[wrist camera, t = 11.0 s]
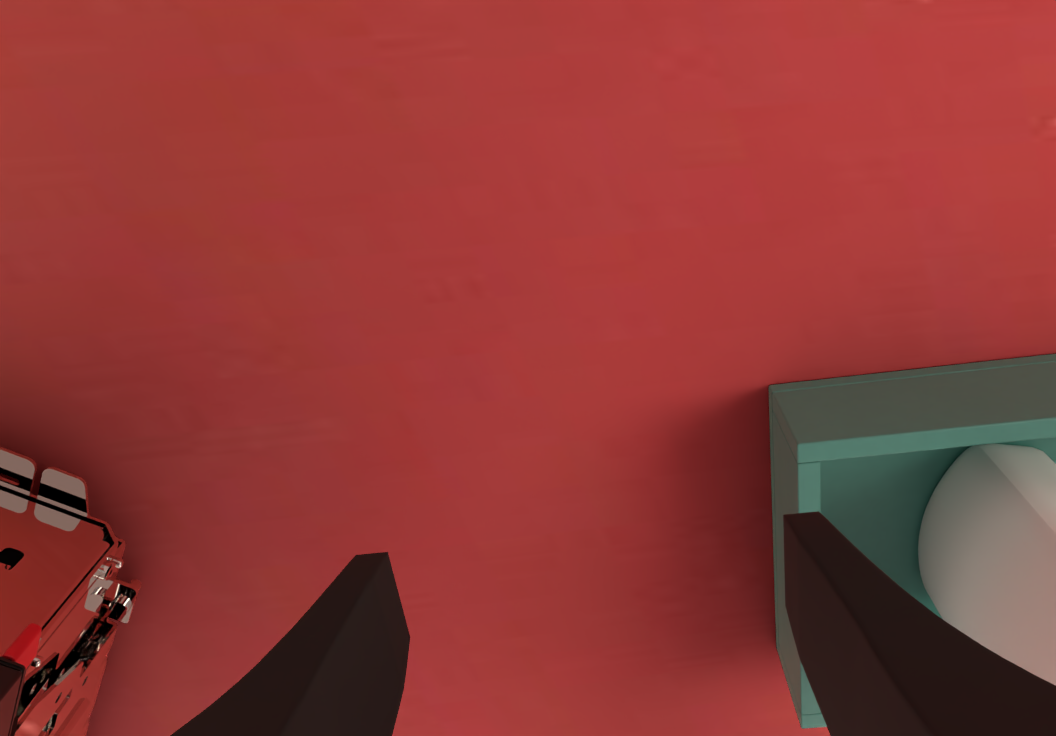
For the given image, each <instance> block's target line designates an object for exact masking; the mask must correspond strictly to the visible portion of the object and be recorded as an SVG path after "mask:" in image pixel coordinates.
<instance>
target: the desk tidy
mask: <svg viewBox="0 0 1056 736" xmlns="http://www.w3.org/2000/svg"><path fill="white" fill-rule="evenodd" d="M768 389H769V423H770V457H771V490H772V524H773V558H774V591H775V625H776V648H777V651H778V655H779V658H780V661H781V665H782V668H783V671H784V674H785V677H786V681H787V684H788V687H789V690H790V694H791V697H792V700H793V703H794V706H795V710H796V713H797V716H798V719H799V723H800V726H801V728H817V727H827V725H826V723H825V720H824V718H823V715H822V713H821V711H820V708H819V706H818V703H817V701H816V698H815V696H814V693H813V691H812V688H811V686H810V683H809V681H808V678H807V676H806V673H805V671H804V668H803V666H802V663H801V661H800V658H799V655H798V651H797V648H796V644H795V641H794V637H793V633H792V630H791V626H790V622H789V618H788V614H787V610H786V607H785V572H784V527H783V515H785V514H796V513H807V512H817V511H819V512H820V513H821V514H822V515H824V516H825V517H826V518H827V519H828V520H829V521H830V522H831V523H832V524H833V525H834V526H835V527H836V528H837V529H838V530H839V531H840V532H841V533H842V534H843V535H844V536H845V537H846V538H847V539H848V540H849V541H850V542H851V543H852V544H853V545H854V546H856V547H857V548H858V549H859V550H860V551H861V552H862V553H863V554H864V555H865V556H866V557H867V558H868V559H869V560H871V561H872V562H873V563H874V564H875V565H876V566H877V567H878V568H880V569H881V570H882V571H883V572H884V573H885V574H887V575H888V576H889V577H890V578H891V579H892V580H893V581H895V582H896V583H897V584H898V585H899V586H900V587H902V588H903V589H904V590H905V591H907V592H908V593H909V594H910V595H911V596H913V597H914V598H915V599H916V600H918V601H919V602H920V603H922V604H923V605H924V606H926V607H927V608H928V609H929V610H931V611H932V612H933V613H935V614H936V615H937V616H939V617H940V618H942V617H941V615H940V614H939V612H938V610H937V608H936V607H935V605H934V603H933V602H932V600H931V598H930V596H929V595H928V593H927V591H926V589H925V587H924V585H923V581H922V578H921V574H920V568H919V559H918V542H919V533H920V527H921V523H922V519H923V515H924V512H925V509H926V507H927V504H928V502H929V500H930V498H931V496H932V494H933V492H934V490H935V488H936V486H937V485H938V483H939V481H940V480H941V478H942V477H943V475H944V474H945V473H946V471H947V470H948V469H949V467H950V466H951V465H952V464H953V462H954V461H955V460H956V459H957V458H958V457H959V456H960V455H961V454H962V453H963V452H964V451H965V450H966V449H968V448H970V447H971V446H974V445H984V444H1006V445H1018V446H1027V447H1033V448H1036V449H1038V450H1041V451H1043V452H1044V453H1045V454H1046V455H1047V456H1048V457H1049V458H1050V459H1051V460H1052V461H1053V462H1054V463H1055V464H1056V354H1048V355H1039V356H1030V357H1020V358H1011V359H1002V360H993V361H984V362H975V363H966V364H957V365H948V366H939V367H930V368H920V369H911V370H902V371H893V372H884V373H875V374H866V375H857V376H848V377H839V378H829V379H820V380H811V381H802V382H793V383H784V384H775V385H769V387H768Z"/></svg>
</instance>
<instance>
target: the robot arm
mask: <svg viewBox="0 0 1056 736" xmlns="http://www.w3.org/2000/svg"><path fill="white" fill-rule="evenodd" d="M783 527H784V572H785V607H786V610H787V614H788V618H789V622H790V626H791V630H792V633H793V637H794V641H795V644H796V648H797V651H798V655H799V658H800V661H801V663H802V666H803V668H804V671H805V673H806V676H807V678H808V681H809V683H810V686H811V688H812V691H813V693H814V696H815V698H816V701H817V703H818V706H819V708H820V711H821V713H822V715H823V718H824V720H825V723H826V725H827V728H828V730H829V733H830V735H831V736H1056V685H1054V684H1052V683H1050V682H1048V681H1046V680H1044V679H1042V678H1040V677H1038V676H1036V675H1034V674H1032V673H1030V672H1028V671H1027V670H1025V669H1023V668H1021V667H1019V666H1017V665H1016V664H1014V663H1012V662H1010V661H1008V660H1006V659H1005V658H1003V657H1001V656H999V655H998V654H996V653H994V652H993V651H991V650H989V649H988V648H986V647H984V646H983V645H981V644H979V643H978V642H976V641H975V640H973V639H972V638H970V637H969V636H967V635H966V634H964V633H962V632H961V631H959V630H958V629H956V628H955V627H953V626H952V625H950V624H949V623H947V622H946V621H944V620H943V619H942V618H940V617H939V616H937V615H936V614H935V613H933V612H932V611H931V610H929V609H928V608H927V607H926V606H924V605H923V604H922V603H920V602H919V601H918V600H916V599H915V598H914V597H913V596H911V595H910V594H909V593H908V592H907V591H905V590H904V589H903V588H902V587H900V586H899V585H898V584H897V583H896V582H895V581H893V580H892V579H891V578H890V577H889V576H888V575H887V574H885V573H884V572H883V571H882V570H881V569H880V568H878V567H877V566H876V565H875V564H874V563H873V562H872V561H871V560H869V559H868V558H867V557H866V556H865V555H864V554H863V553H862V552H861V551H860V550H859V549H858V548H857V547H856V546H854V545H853V544H852V543H851V542H850V541H849V540H848V539H847V538H846V537H845V536H844V535H843V534H842V533H841V532H840V531H839V530H838V529H837V528H836V527H835V526H834V525H833V524H832V523H831V522H830V521H829V520H828V519H827V518H826V517H825V516H824V515H822V514H821V513H820V512H819V511H817V512H807V513H796V514H785V515H783ZM409 642H410V635H409V631H408V628H407V624H406V620H405V616H404V612H403V609H402V605H401V601H400V597H399V593H398V590H397V586H396V582H395V578H394V574H393V571H392V567H391V563H390V559H389V555H388V552H383V553H373V554H362V555H356V556H355V557H354V558H353V559H352V560H351V561H350V562H349V563H348V565H347V566H346V567H345V568H344V569H343V570H342V572H341V573H340V574H339V575H338V576H337V577H336V579H335V580H334V581H333V582H332V583H331V584H330V586H329V587H328V588H327V589H326V590H325V591H324V593H323V594H322V595H321V596H320V597H319V598H318V600H317V601H316V602H315V603H314V604H313V605H312V607H311V608H310V609H309V610H308V611H307V612H306V613H305V614H304V616H303V617H302V618H301V619H300V620H299V621H298V622H297V623H296V625H295V626H294V627H293V628H292V629H291V630H290V631H289V632H288V633H287V634H286V635H285V636H284V637H283V638H282V639H281V640H280V641H279V642H278V643H277V644H276V645H275V646H274V647H273V649H272V650H271V651H270V652H269V653H268V654H267V655H266V656H265V657H264V658H263V659H262V660H261V661H260V662H259V663H258V664H257V665H256V666H255V667H254V668H253V669H252V670H251V671H249V672H248V673H247V674H246V675H245V676H244V677H243V678H242V679H241V680H240V681H239V682H237V683H236V684H235V685H234V686H233V687H232V688H230V689H229V690H228V691H227V692H226V693H225V694H223V695H222V696H221V697H220V698H219V699H218V700H216V701H215V702H214V703H213V704H212V705H210V706H209V707H208V708H207V709H205V710H204V711H203V712H201V713H200V714H199V715H197V716H196V717H195V718H193V719H192V720H191V721H189V722H188V723H187V724H185V725H184V726H183V727H181V728H180V729H179V730H177V731H176V732H175V733H173V734H172V735H171V736H392V733H393V729H394V726H395V722H396V718H397V714H398V710H399V706H400V702H401V698H402V694H403V689H404V683H405V676H406V668H407V660H408V651H409Z"/></svg>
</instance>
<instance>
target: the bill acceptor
mask: <svg viewBox="0 0 1056 736" xmlns="http://www.w3.org/2000/svg"><path fill="white" fill-rule="evenodd" d="M36 470H37V465H36V463H35V461H34V460H33V459H31V458H29V457H26V456H24V455H21V454H19V453H16V452H13V451H11V450H8V449H5V448H3V447H0V473H2V474H5V475H7V476H10V477H13V478H15V479H18V480H19V482H20V483H16V482H14V481H11V480H8V479H6V478H3V477H0V736H86V733H87V729H88V726H89V722H90V717H89V715H90V714H91V712H92V710H93V708H94V705H95V701H96V698H97V695H98V691H99V688H100V684H101V681H102V677H103V674H104V670H105V667H106V663H107V660H108V658H107V656H106V655H107V653H108V652H109V650H110V648H111V646H112V643H113V639H114V636H115V632H116V629H117V623H116V622H113V621H110V620H109V619H108V617H109V618H112V619H115V620H118V621H120V622H123V623H128V622H129V620H130V619H131V615H132V611H133V607H134V604H135V600H136V598H137V595H138V592H139V589H140V587H141V586H142V584H141V582H140V581H139V580H136V579H133V580H132V581H131V582H130V583H127V582H124V581H121V580H119V579H116V577H117V573H118V570H119V568H121V567H122V566H123V564H124V560H123V559H122V555H123V552H124V548H125V545H126V542H125V541H124V540H122V539H120V538H117V537H115V534H114V532H113V530H112V528H111V526H110V524H109V523H108V522H106V521H103V520H100V519H98V518H95V517H92V516H90V515H89V504H88V492H87V483H86V481H85V480H84V479H83V478H81V477H79V476H77V475H74V474H71V473H69V472H66V471H63V470H61V469H58V468H56V467H48V468H46V469H45V470H44V471H43V473H42V478H41V482H40V487H39V492H38V496H36V495H33V494H32V489H33V484H34V479H35V474H36Z"/></svg>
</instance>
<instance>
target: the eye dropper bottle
mask: <svg viewBox="0 0 1056 736" xmlns="http://www.w3.org/2000/svg"><path fill="white" fill-rule="evenodd" d="M918 559H919V568H920V574H921V578H922V581H923V585H924V587H925V589H926V591H927V593H928V595H929V596H930V598H931V600H932V602H933V603H934V605H935V607H936V608H937V610H938V612H939V614H940V615H941V617H942V619H943V620H944V621H946V622H947V623H949V624H950V625H952V626H953V627H955V628H956V629H958V630H959V631H961V632H962V633H964V634H966V635H967V636H969V637H970V638H972V639H973V640H975V641H976V642H978V643H979V644H981V645H983V646H984V647H986V648H988V649H989V650H991V651H993V652H994V653H996V654H998V655H999V656H1001V657H1003V658H1005V659H1006V660H1008V661H1010V662H1012V663H1014V664H1016V665H1017V666H1019V667H1021V668H1023V669H1025V670H1027V671H1028V672H1030V673H1032V674H1034V675H1036V676H1038V677H1040V678H1042V679H1044V680H1046V681H1048V682H1050V683H1052V684H1054V685H1056V464H1055V463H1054V462H1053V461H1052V460H1051V459H1050V458H1049V457H1048V456H1047V455H1046V454H1045V453H1044V452H1043V451H1041V450H1038V449H1036V448H1033V447H1027V446H1018V445H1006V444H984V445H974V446H971V447H970V448H968V449H966V450H965V451H964V452H963V453H962V454H961V455H960V456H959V457H958V458H957V459H956V460H955V461H954V462H953V464H952V465H951V466H950V467H949V469H948V470H947V471H946V473H945V474H944V475H943V477H942V478H941V480H940V481H939V483H938V485H937V486H936V488H935V490H934V492H933V494H932V496H931V498H930V500H929V502H928V504H927V507H926V509H925V512H924V515H923V519H922V523H921V527H920V533H919V542H918Z"/></svg>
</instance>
